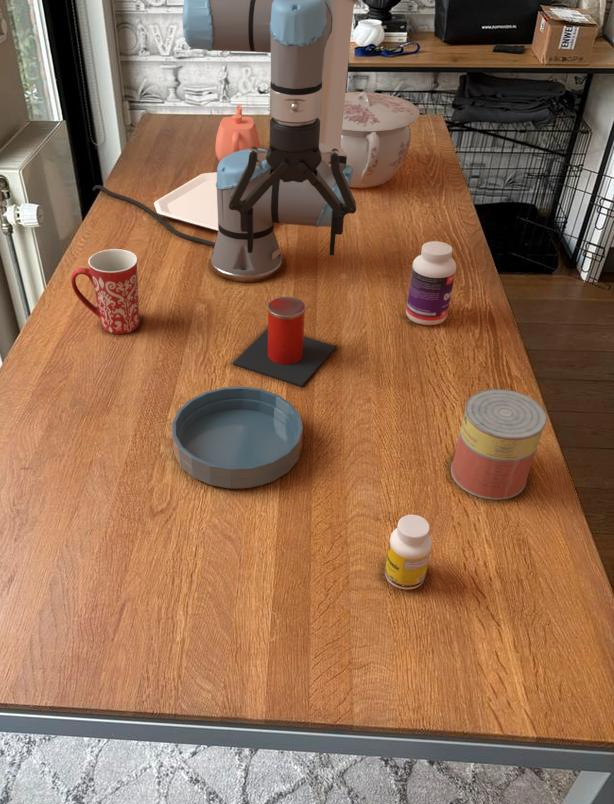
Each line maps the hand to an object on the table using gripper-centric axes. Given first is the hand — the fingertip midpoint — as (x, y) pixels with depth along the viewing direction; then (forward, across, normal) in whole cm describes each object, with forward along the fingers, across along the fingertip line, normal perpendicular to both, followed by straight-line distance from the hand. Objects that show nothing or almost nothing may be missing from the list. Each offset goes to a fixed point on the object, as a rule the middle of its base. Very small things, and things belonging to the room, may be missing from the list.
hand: (290, 250), depth 130 cm
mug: (+20, -34, +6) cm, 40 cm away
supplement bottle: (+19, +18, -53) cm, 59 cm away
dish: (+20, -7, -28) cm, 35 cm away
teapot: (+22, -18, +90) cm, 94 cm away
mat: (+20, 0, -2) cm, 20 cm away
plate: (+21, -18, +60) cm, 66 cm away
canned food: (+20, +32, -32) cm, 49 cm away
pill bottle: (+20, +26, +14) cm, 36 cm away
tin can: (+20, 0, -2) cm, 20 cm away
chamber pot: (+22, +14, +81) cm, 85 cm away
